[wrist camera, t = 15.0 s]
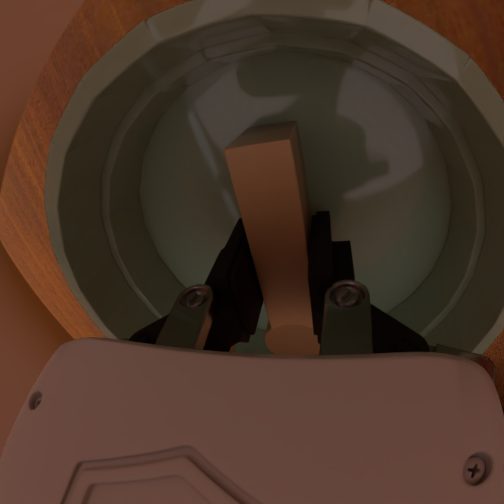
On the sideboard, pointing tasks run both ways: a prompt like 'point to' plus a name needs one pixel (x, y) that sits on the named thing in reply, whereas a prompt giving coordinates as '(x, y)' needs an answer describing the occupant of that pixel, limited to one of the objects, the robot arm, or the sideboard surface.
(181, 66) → the bowl
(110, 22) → the sideboard surface
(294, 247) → the round-ended wooden block
